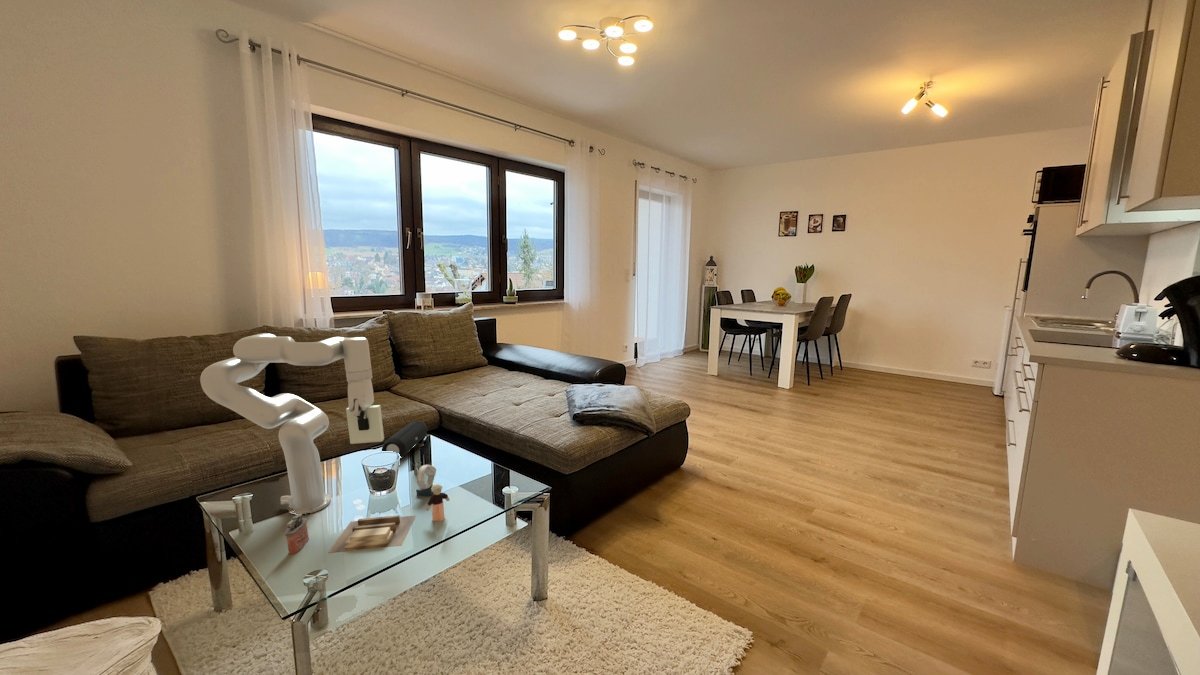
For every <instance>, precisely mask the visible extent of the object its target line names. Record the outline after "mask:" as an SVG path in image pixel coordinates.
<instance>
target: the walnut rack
mask: <svg viewBox="0 0 1200 675" xmlns="http://www.w3.org/2000/svg"><path fill="white" fill-rule="evenodd" d="M416 518H417V515H407V516H400V514H397V515H387V516H377V517H376V516H375V517H366V518H365V517H364V518H359V519H357V520H355V521H350V522H349V524H348V525H347V526H346V527H345V529H344V530H343V531H342V533H341V534H340V536H339V537H338V538H337V539H336V541H335V543H334V544H333V545H332V547H331V548H330V550H329V551H328V554H333V553H341V552H348V551H349V552H350V551H351V552H352V551H360V550H370V549H371V550H372V549H380V548H389V547H390V548H391V547H398V546H403V544H404V542H405V540H406V537H407V536H408V534H409V531H410V529H411V527H412V525H413V523H414V521H415V520H416ZM384 527H390V530H391V531H393V537H392V539H391V541H390V542H389V544H380V545H370V546H361V547H351V548H345V542H346V540H347V539H348V538H349V536H350V535H352V533H353V532H354V531H355V530H364V529H374V528H384Z"/></svg>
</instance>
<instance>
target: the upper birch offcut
mask: <svg viewBox="0 0 1200 675" xmlns="http://www.w3.org/2000/svg"><path fill="white" fill-rule="evenodd" d="M390 532H391V530H390V527H384V528H374V529H364V530H355V531H354V532H353V533H352V535H351V536H350V542H359V541H368V540H378V539H387V537H388V535H389V534H390Z"/></svg>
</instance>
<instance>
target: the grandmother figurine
mask: <svg viewBox="0 0 1200 675" xmlns="http://www.w3.org/2000/svg"><path fill="white" fill-rule="evenodd" d="M442 489H443V485H442V484H440V483H437V482H436V483H434V484H433V486H432V488H431V490H432V492H433V495H432V496H430V497H429V498H430V499H429V501H428V502H427V505H426V508H425V510H426V511H429V510H430V509H431V505H432V509H431V510H432V511H431V512H432V513H431V518H432V522H437V521H441V522H442V521H444V520H446V517H445V507H444V500H445V501H446V502H449V501H450V497H449V496H448V494H447V493H445V492H442Z"/></svg>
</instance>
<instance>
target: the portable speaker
mask: <svg viewBox="0 0 1200 675" xmlns="http://www.w3.org/2000/svg"><path fill="white" fill-rule="evenodd" d="M427 434H428V427H427V424H426V423H424V421H421V420H413V421H411V422H409V423H408V424H406V425H405V426H403V427H402V428H400V429H399V430H398V431H397V432H395V433H394V434H393V435H391V436H390V437H388V438H387V439H386V440H385V441H384V442H383V445H382V448H381V452H382V451H393V452H396V453H399V454H400V456H401V457H403V458H404V457H405V456H406V455H407V454H408V453H409V452H410V451H409V450H410V449H411V448H412V447H413V446H414V445H415V444H416V443H418V442H419V441H420V440H421V439H423V437H424V436H425V435H426V436H427ZM423 440H424V439H423ZM418 444H419V443H418ZM408 451H409V452H408Z"/></svg>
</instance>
